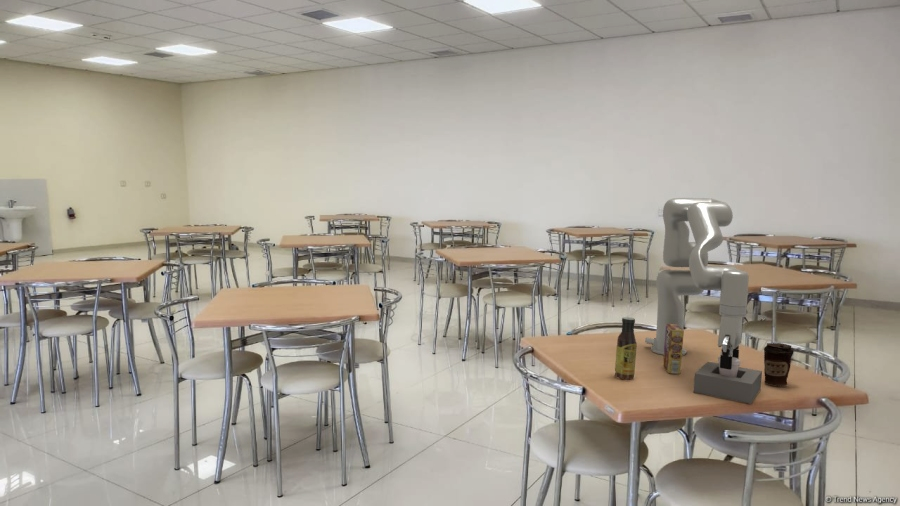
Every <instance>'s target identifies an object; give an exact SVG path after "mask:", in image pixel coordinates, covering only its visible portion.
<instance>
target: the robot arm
mask: <svg viewBox="0 0 900 506" xmlns="http://www.w3.org/2000/svg"><path fill="white" fill-rule="evenodd" d="M732 210H733V209H732V207H731V206H730V205H729V204H728V203H726V202H724V201H722V200H718V199H715V198H704V197H703V198H702V197H697V198H696V197H695V198H694V197H676V198H671V199H667V201H665V203H664V204H663V209H662V219H663V223H664V241H663V251H662V261H663V263H664V265H666V266H667V267H671V268H688V270H687V269H686V270H685V269H667V270H663V271H661V272H659V273H658V274H657V276H656V280H655V281H656V284H655V285H656V290H657V315H656V316H657V317H656V334H655V335H656V336H655V338H651V337H645V339H644V342H645V343H646V344H648V345H652V346H651V347H650V348H651V349H650V350H651V352H653V353H654V354H657V355H660V356H661V355H662V356H664V345H665V331H666V324H675V325H678V326H679V327H680V328H681V329H683V330H684V323H685V321H684V319H685V306H684V303H683V302H682V300H681V299H680V298H679V296H699V295H701V294H702V293H704V291H720V292H719V293H720V294H719V297H720V298H719V309H718V314H719V315H720V316H721V317H720V322H719V328H718V329H719V330H718V339H717V346H718V348H721V351H720V356H719V357H720V368H723V369H729V370H731V368H732V357H735V358H738V359H740V358H739V357H740V344H741V341H742V332H743V331H742V330H743V329H742V327H743V318H746V317H747V309H748V308H747V306H748V293H749V281H750V280H749V279H750V278H749V277H750V275H749V273H748V272H747V271H745V270H740V269H738V268H737V267H736V266H728V265H727V266H720V265H714V266H713V265H708V264H709V263H708V262H709V252H710V251H713V250H715V249H716V248H718V247H720V246H721V245H722V243H723V241H724V236H723V234H722V231H721V228H724V227H728V226H729V225H731V223H732V221H733V218H734V217H733V215H734V214H733V211H732ZM687 222H688V223H689V226H690V228H689V226H688V225H687ZM690 230H691V233H692V236H693V238H694V241H689V240H690ZM732 350H733V354H732ZM686 354H687V350H686V349H685V348H683V347H682V356H685V355H686ZM731 354H732V356H731Z"/></svg>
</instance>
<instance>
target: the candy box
mask: <svg viewBox="0 0 900 506" xmlns="http://www.w3.org/2000/svg"><path fill="white" fill-rule="evenodd" d="M684 333H685V330H684V328H683V329H681V328H680V327H679V326H678V325H675V324H666V331H665V345H664V355H663V360H662V361H663V363H662V367H663V368H664V369H665V371H666V372H667V373H668V374H671V375H672V374H676V375H680V374H681V370H682V358H683V355H682V348H683V347H684V345H683V344H684Z"/></svg>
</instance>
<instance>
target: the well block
mask: <svg viewBox="0 0 900 506" xmlns="http://www.w3.org/2000/svg"><path fill="white" fill-rule="evenodd" d="M762 373H763V370H758V369H754V368H747V367H740V366H739V368H738V372H737V377H731V376H726V375H720V371H719V362H713V361H706V362H705V364H703V365H702V366H701V367H700V368H699V369H698V370H697V371H696V372H694V377H693V378H694V380H693V381H694V382H693V393H695V394H700V395H705V396H710V397H715V398H719V399H724V400H731V401H735V402H738V403H739V402H740V403H742V404H743V403H744V404H749V405H752V403H753V401H755V399H756V397H757V396H758V394H759V393H760V391H761V390H762Z"/></svg>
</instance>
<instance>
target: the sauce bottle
mask: <svg viewBox="0 0 900 506" xmlns="http://www.w3.org/2000/svg"><path fill="white" fill-rule="evenodd" d="M621 323H622V325H621V326H622V327H621V332H620V333H619V335H618V336H617V342H616V352H615V354H616V355H615V366H614V371H615V373H614V376H615V377H616V378H618V379H621V380H632V379H634V377H635V371H636V362H637V361H636V359H637V358H636V357H637V347H638V346H637V344H638V343H637V341H636V340H637V339H636V336H635V330H634V328H635V324H636V318H635V317H628V316H626V317H622V318H621Z"/></svg>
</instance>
